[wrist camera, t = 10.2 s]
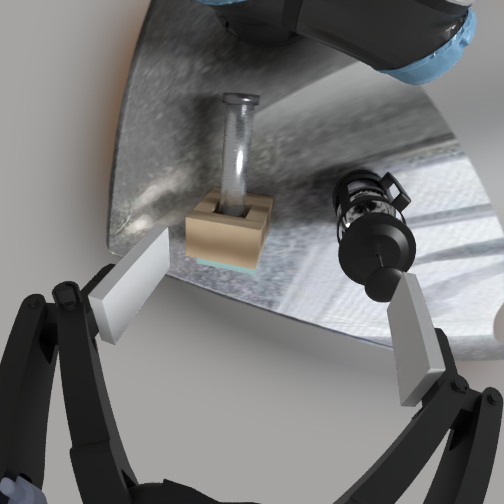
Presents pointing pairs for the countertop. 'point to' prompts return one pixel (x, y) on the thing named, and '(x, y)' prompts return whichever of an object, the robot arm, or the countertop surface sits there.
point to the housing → (229, 230)
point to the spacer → (227, 266)
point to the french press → (373, 233)
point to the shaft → (236, 152)
